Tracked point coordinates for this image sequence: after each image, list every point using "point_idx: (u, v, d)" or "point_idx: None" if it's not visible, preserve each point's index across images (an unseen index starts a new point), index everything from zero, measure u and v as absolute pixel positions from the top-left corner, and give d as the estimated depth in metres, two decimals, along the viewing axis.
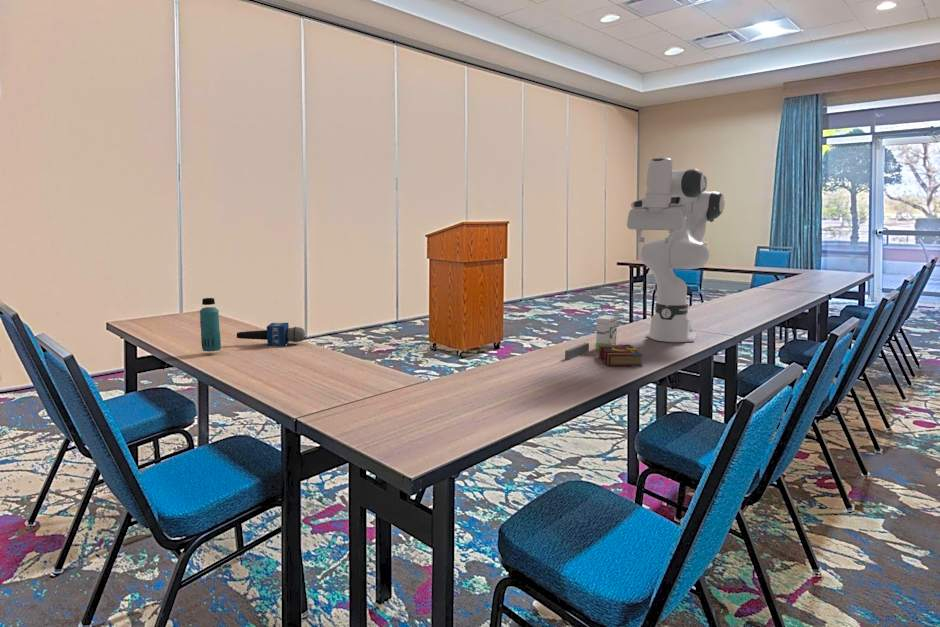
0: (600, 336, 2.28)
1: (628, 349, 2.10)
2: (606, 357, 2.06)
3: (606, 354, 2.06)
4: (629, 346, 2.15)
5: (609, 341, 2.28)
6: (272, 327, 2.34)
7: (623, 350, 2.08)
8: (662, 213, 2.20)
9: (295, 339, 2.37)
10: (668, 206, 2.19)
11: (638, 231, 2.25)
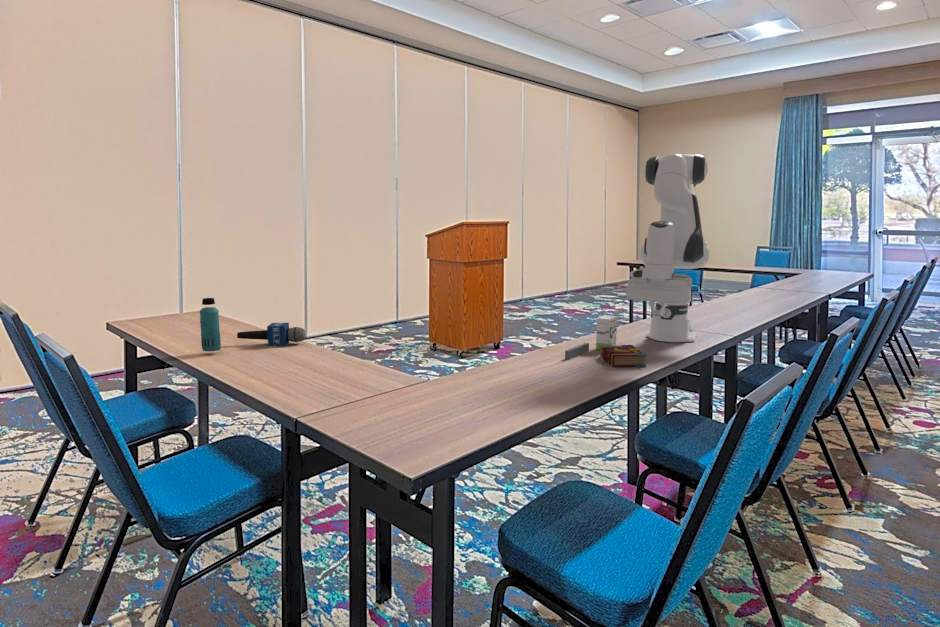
0: (600, 336, 2.28)
1: (631, 349, 2.09)
2: (610, 358, 2.06)
3: (610, 355, 2.06)
4: (631, 346, 2.15)
5: (609, 341, 2.28)
6: (272, 327, 2.34)
7: (626, 350, 2.08)
8: (665, 285, 1.98)
9: (295, 339, 2.37)
10: (671, 277, 1.97)
11: (651, 303, 2.02)
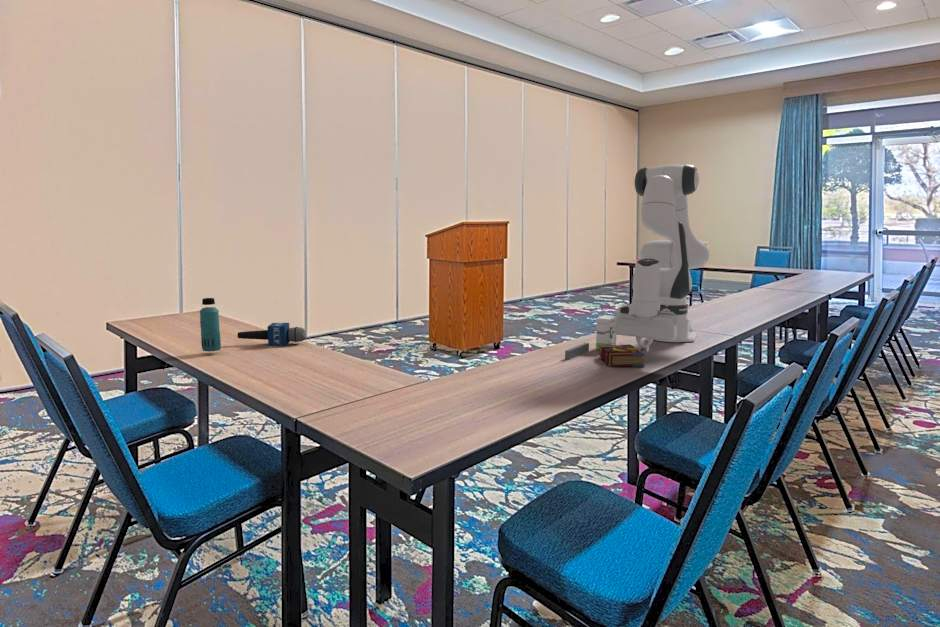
0: (600, 336, 2.28)
1: (629, 349, 2.09)
2: (608, 357, 2.05)
3: (608, 354, 2.05)
4: (630, 346, 2.14)
5: (609, 341, 2.28)
6: (273, 327, 2.34)
7: (624, 350, 2.07)
8: (651, 321, 2.02)
9: (296, 339, 2.37)
10: (657, 314, 2.01)
11: (638, 339, 2.06)
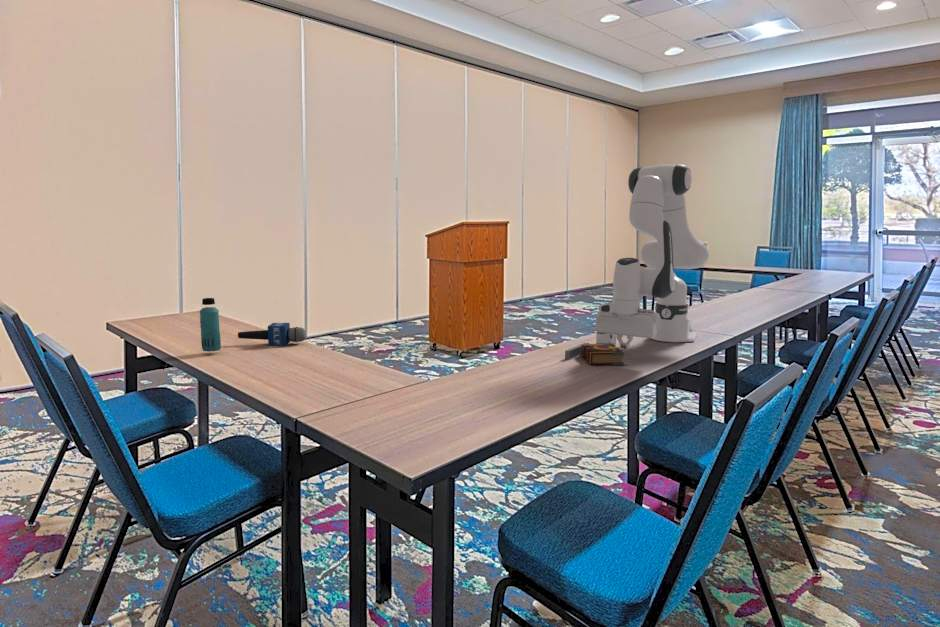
0: (600, 336, 2.28)
1: (610, 348, 2.11)
2: (588, 356, 2.08)
3: (588, 353, 2.08)
4: (611, 345, 2.17)
5: (609, 341, 2.28)
6: (273, 327, 2.34)
7: (605, 349, 2.10)
8: (631, 319, 2.06)
9: (296, 339, 2.37)
10: (637, 312, 2.05)
11: (618, 336, 2.10)
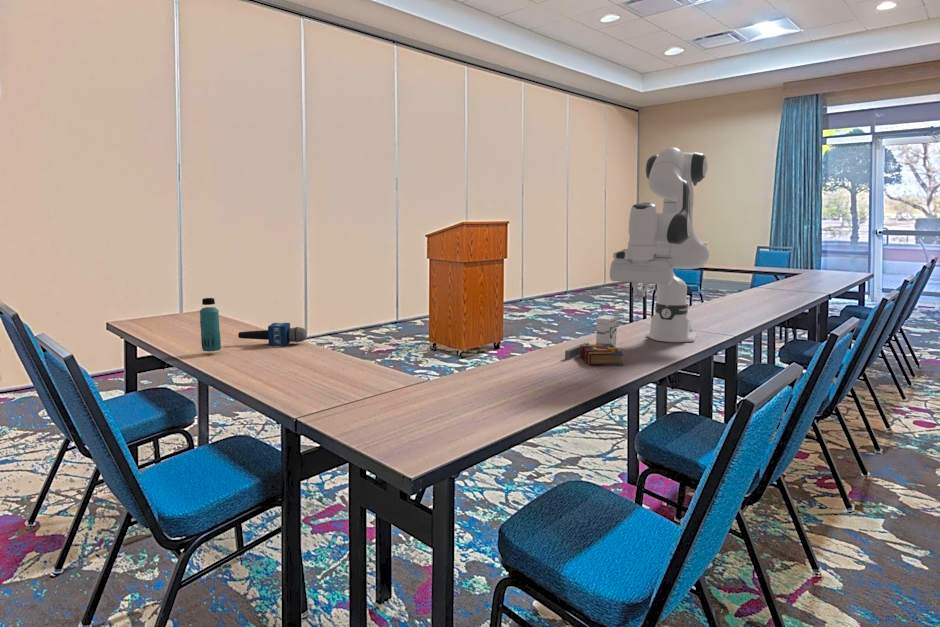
0: (600, 336, 2.28)
1: (609, 348, 2.11)
2: (587, 356, 2.08)
3: (587, 353, 2.08)
4: (610, 345, 2.17)
5: (609, 341, 2.28)
6: (273, 327, 2.34)
7: (604, 349, 2.09)
8: (647, 266, 2.00)
9: (296, 339, 2.37)
10: (653, 258, 2.00)
11: (634, 284, 2.04)
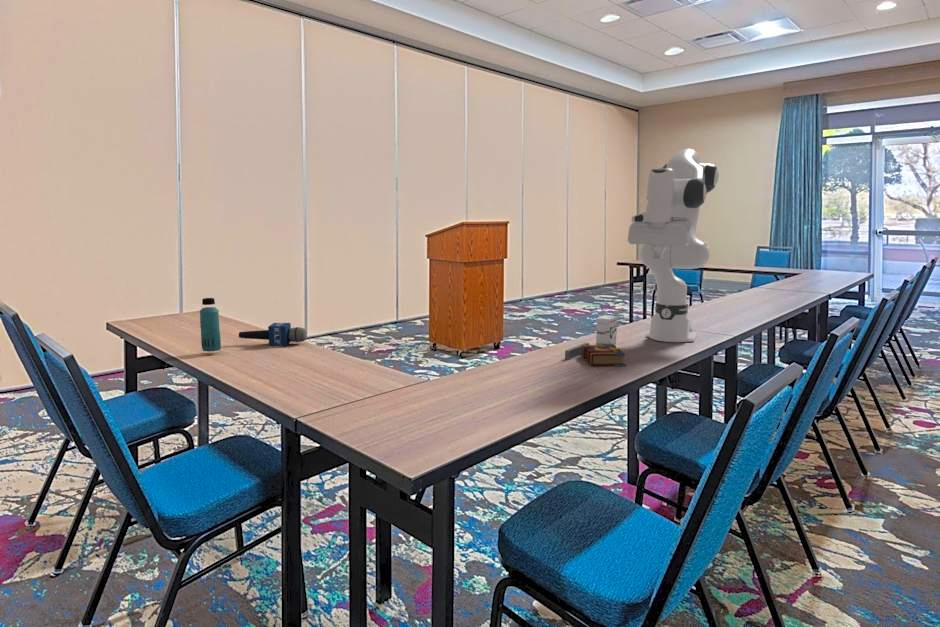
0: (600, 336, 2.28)
1: (611, 349, 2.11)
2: (589, 357, 2.07)
3: (589, 354, 2.07)
4: (612, 346, 2.16)
5: (609, 341, 2.28)
6: (273, 327, 2.34)
7: (606, 350, 2.09)
8: (665, 228, 2.08)
9: (296, 339, 2.37)
10: (671, 220, 2.07)
11: (651, 247, 2.12)
